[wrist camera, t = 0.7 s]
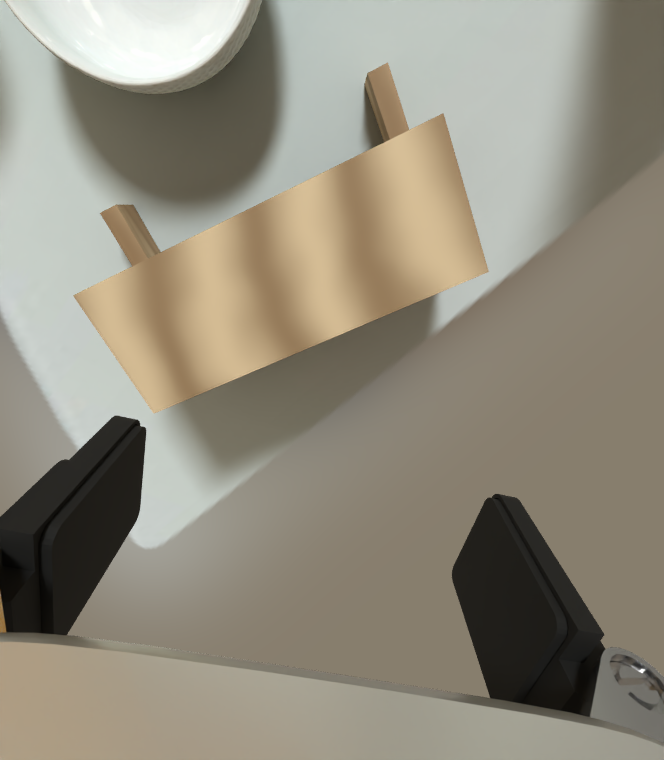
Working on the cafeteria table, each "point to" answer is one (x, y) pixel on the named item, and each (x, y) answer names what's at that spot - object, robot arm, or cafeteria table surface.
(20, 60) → the cafeteria table surface
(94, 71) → the cereal bowl
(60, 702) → the robot arm
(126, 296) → the wooden step block
